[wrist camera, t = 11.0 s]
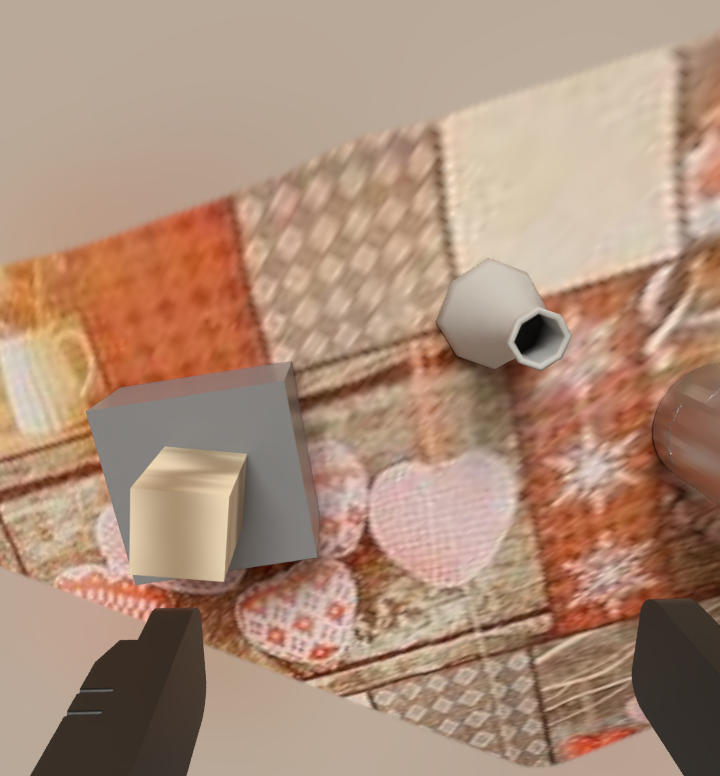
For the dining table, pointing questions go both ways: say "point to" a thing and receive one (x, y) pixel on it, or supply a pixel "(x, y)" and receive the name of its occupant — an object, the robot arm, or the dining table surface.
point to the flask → (501, 319)
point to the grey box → (226, 434)
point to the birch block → (187, 514)
